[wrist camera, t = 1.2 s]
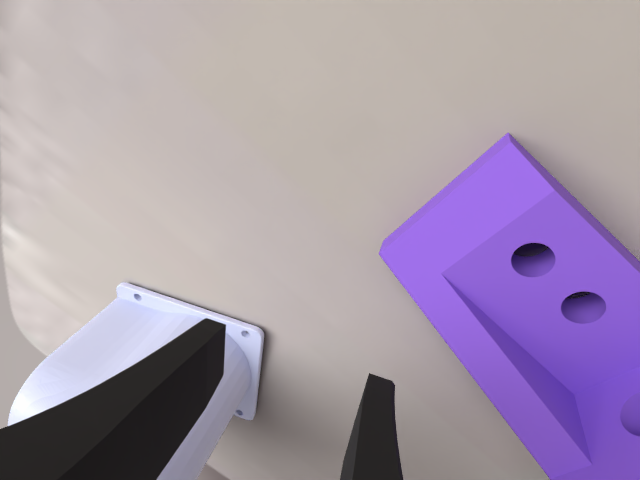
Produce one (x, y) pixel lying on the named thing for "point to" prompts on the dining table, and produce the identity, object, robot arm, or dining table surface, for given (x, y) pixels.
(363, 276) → the dining table surface
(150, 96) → the dining table surface
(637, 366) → the purple holed block
